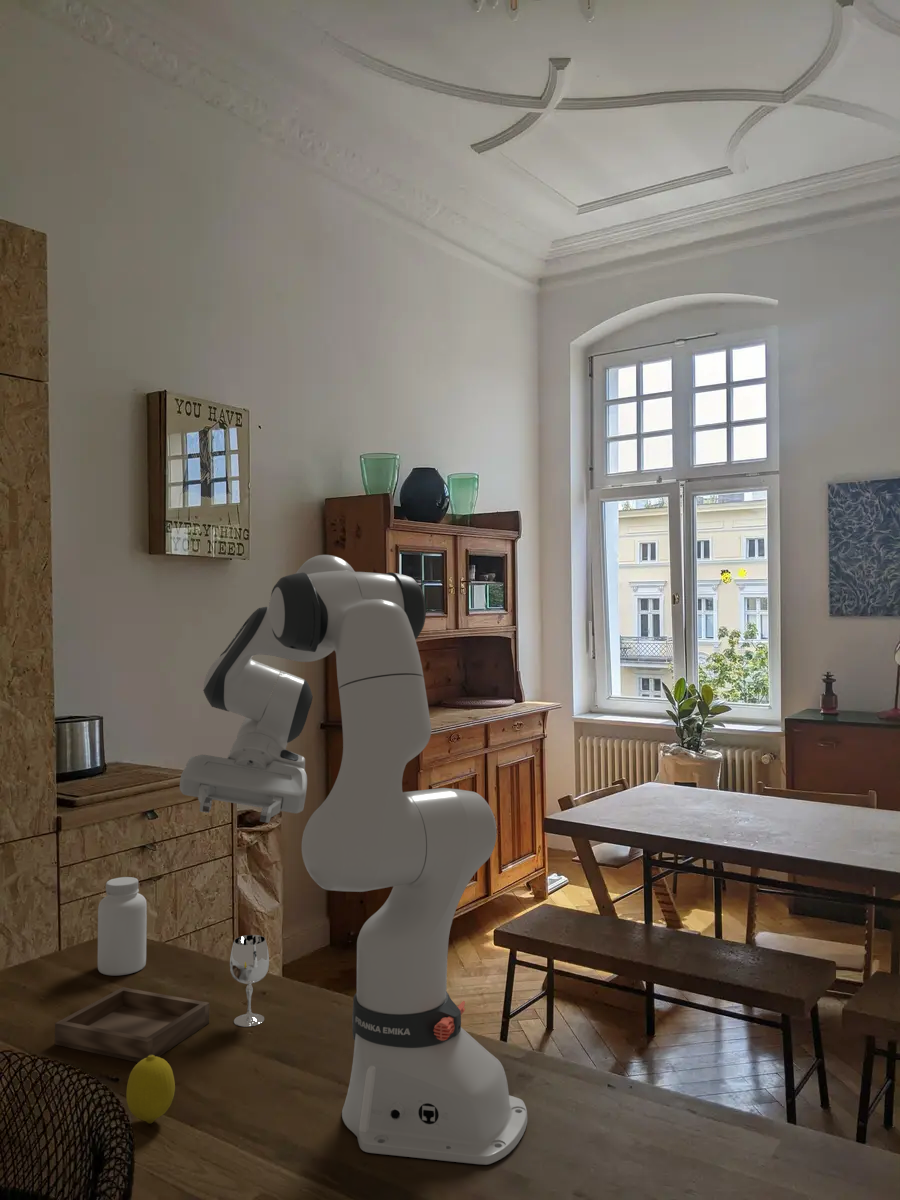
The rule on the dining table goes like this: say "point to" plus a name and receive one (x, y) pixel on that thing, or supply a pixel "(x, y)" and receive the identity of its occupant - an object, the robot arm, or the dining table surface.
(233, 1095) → the dining table surface
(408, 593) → the robot arm
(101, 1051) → the tray
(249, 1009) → the wineglass
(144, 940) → the pill bottle
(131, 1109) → the lemon
